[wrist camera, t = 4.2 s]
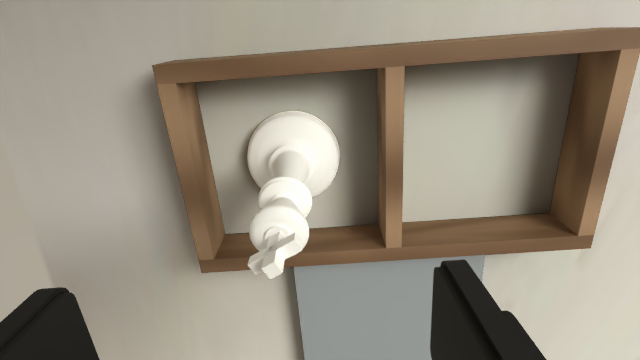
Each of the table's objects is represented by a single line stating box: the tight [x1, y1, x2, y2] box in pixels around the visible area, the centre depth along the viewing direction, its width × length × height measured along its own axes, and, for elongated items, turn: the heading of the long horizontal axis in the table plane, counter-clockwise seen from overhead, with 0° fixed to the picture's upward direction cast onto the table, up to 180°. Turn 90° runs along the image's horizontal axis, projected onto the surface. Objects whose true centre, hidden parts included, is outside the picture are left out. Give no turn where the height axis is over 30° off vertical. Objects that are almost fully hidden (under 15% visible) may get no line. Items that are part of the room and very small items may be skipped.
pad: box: [294, 255, 485, 360], centre depth 23 cm, size 11×11×1 cm
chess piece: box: [247, 111, 340, 279], centre depth 15 cm, size 5×5×10 cm
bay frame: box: [152, 28, 640, 273], centre depth 18 cm, size 11×20×2 cm, turn 94°
